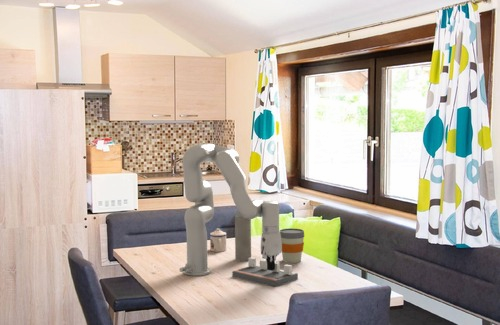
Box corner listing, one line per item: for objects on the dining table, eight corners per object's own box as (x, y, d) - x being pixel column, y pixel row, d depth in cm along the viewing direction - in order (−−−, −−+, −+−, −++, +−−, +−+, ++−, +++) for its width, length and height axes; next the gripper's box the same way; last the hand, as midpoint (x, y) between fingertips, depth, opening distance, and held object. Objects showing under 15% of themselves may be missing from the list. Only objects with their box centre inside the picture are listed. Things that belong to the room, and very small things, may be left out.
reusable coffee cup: (289, 256, 325) (288, 227, 324) (309, 259, 317) (309, 230, 316) (274, 261, 316) (274, 231, 314) (294, 264, 308) (294, 234, 306)
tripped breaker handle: (277, 272, 283) (276, 263, 283) (271, 271, 285) (271, 262, 285) (279, 271, 285) (279, 262, 285) (274, 270, 287) (274, 261, 287)
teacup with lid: (209, 248, 344) (208, 227, 343) (225, 247, 345) (225, 226, 344) (211, 253, 332) (211, 231, 331) (228, 252, 333) (228, 231, 332)
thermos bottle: (236, 257, 323) (235, 203, 321) (251, 257, 323) (251, 203, 320) (234, 261, 315) (233, 205, 313) (250, 261, 315) (249, 205, 312)
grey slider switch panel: (275, 286, 271) (275, 271, 270) (232, 276, 287) (232, 262, 287) (297, 278, 283) (297, 264, 282) (255, 269, 299) (255, 255, 299)
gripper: (266, 233, 273) (266, 274, 274) (287, 227, 284) (287, 267, 286) (253, 230, 278) (253, 271, 279) (274, 225, 289) (274, 265, 291)
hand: (270, 269), depth 282 cm, fingers closed
